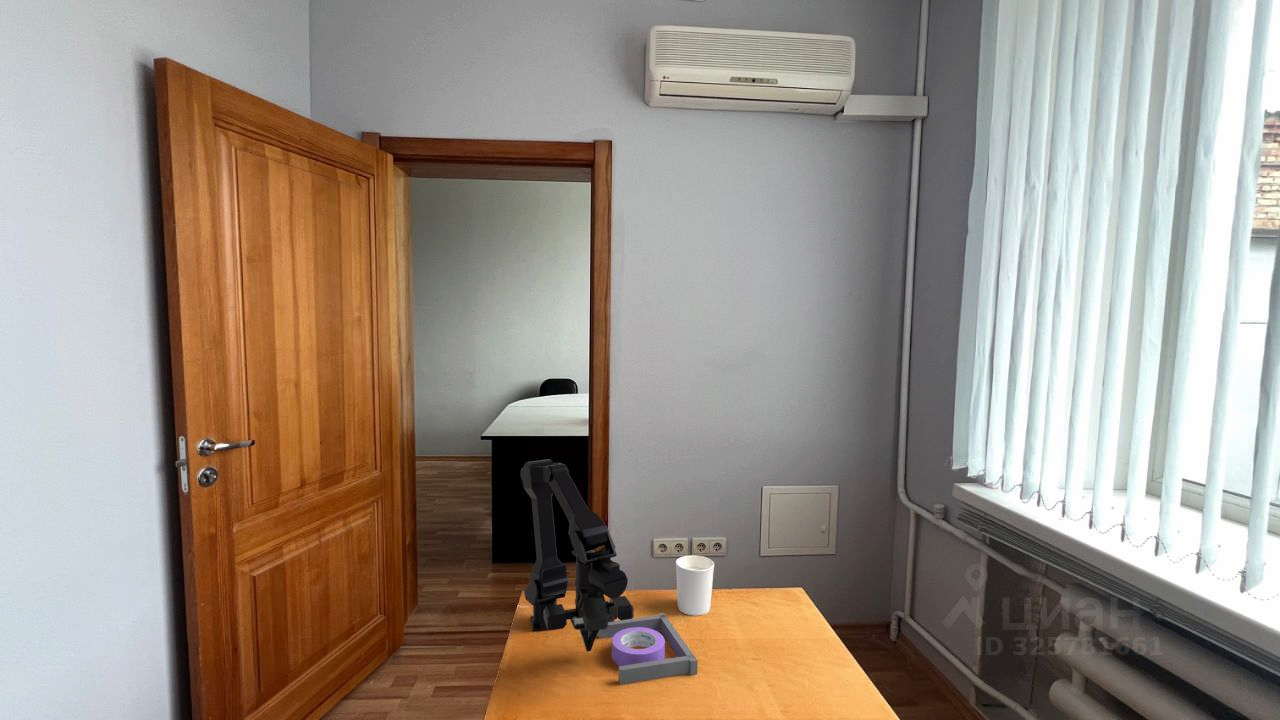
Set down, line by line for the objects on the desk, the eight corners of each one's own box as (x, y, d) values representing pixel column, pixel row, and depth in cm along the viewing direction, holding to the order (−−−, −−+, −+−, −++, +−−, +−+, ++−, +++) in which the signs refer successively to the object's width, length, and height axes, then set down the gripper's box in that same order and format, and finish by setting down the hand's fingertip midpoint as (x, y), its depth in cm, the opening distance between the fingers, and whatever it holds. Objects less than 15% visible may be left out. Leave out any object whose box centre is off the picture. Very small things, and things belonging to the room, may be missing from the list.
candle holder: (711, 619, 153) (712, 572, 152) (672, 614, 154) (673, 568, 154) (714, 601, 162) (715, 557, 161) (677, 597, 164) (678, 553, 163)
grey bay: (597, 634, 144) (597, 621, 144) (663, 624, 149) (663, 613, 149) (621, 686, 124) (621, 672, 124) (697, 674, 129) (697, 660, 129)
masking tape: (603, 649, 138) (603, 632, 138) (649, 638, 143) (650, 622, 143) (624, 676, 128) (625, 659, 128) (674, 664, 133) (674, 647, 133)
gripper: (552, 602, 121) (551, 678, 122) (642, 591, 127) (640, 663, 128) (543, 579, 132) (542, 649, 133) (626, 569, 138) (625, 637, 139)
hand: (588, 650), depth 133 cm, fingers closed
